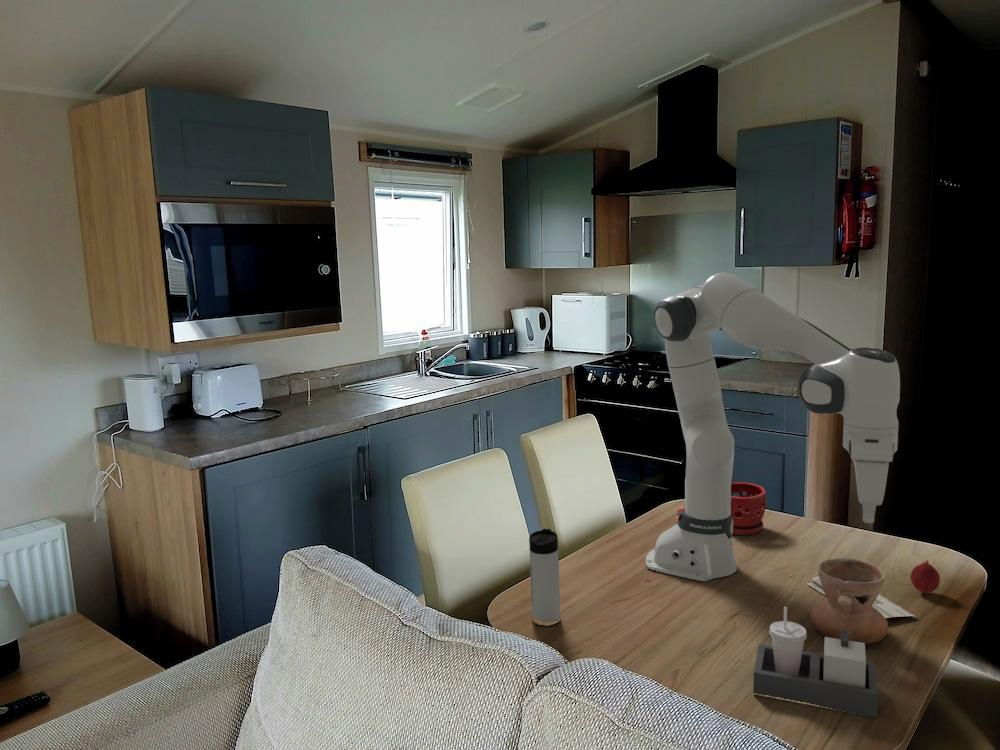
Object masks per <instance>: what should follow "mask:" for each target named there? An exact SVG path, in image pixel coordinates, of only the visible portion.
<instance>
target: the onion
mask: <svg viewBox="0 0 1000 750" xmlns="http://www.w3.org/2000/svg"><path fill="white" fill-rule="evenodd" d="M910 581H911V584H912V585H913V587H914V588H915V589H916V590H917V591H919V592H920V593H921V594H924V595H927V594H929V593H932V592H934V591H936V589H938V588H939V586H940V583H941V582H940V581H941V577H940V574H939V572H938V570H937V569H936V568H935V567H934V566H932V565H931V564H930V563H929V560H927V559H923V561H922V563H919V564H917V565H916V566H914V568H913V569H912V571H911V573H910Z"/></svg>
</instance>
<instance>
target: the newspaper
mask: <svg viewBox="0 0 1000 750" xmlns="http://www.w3.org/2000/svg"><path fill="white" fill-rule="evenodd" d="M810 580H811V582H807V583H806V584H807V585H808V586H810V587H811V588H813V589H814V590H817V591H818V592H819V593H821V594H823V595H824V596H826V595H825V593H824V591H823V588H822V585H821V581H820V577H819V576H815V577H813V578H811V579H810ZM872 607H874V608H875V609H876V610H878V611H879V612H880V613H881V614H882V615H883V616H884V617H885V619H889V618H897V617H898V618H899V617H901V618H902V617H910V616H911V617H910V618H912V619H916V620H917V619H918V616H916V615H914V613H911V612H910V611H908V610H907V609H905V608H903V607H902V606H901V605H898V604H897V603H896V602H893V601H892V600H890V599H889V598H887V597H885V596H883V595H882V594H881V593H879V594H878V596H877V598H876V600H875V602H874V603H873V605H872ZM886 621H887V624H888V623H889V621H888V620H886Z"/></svg>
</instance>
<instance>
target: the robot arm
mask: <svg viewBox="0 0 1000 750" xmlns="http://www.w3.org/2000/svg"><path fill="white" fill-rule="evenodd" d="M653 321H654V322H653V323H654V325H655V329H656V330H657V332H658V333H659V335H660V336H661V337H662V338H663V339H664V346H665V347H664V348H665V355H666V362H667V366H668V371H669V375H670V380H671V383H672V389H673V394H674V397H675V402H676V407H677V411H678V415H679V419H680V420H679V421H680V425H681V429H682V435H683V439H684V442H685V451H686V453H685V454H686V457H685V458H686V460H685V461H686V462H685V464H686V465H685V478H684V506H683V505H681V506H680V507H679V508H678V510H677V514H676V524H674V525H673V526H671V527H670V528H668V529H667V530H665V531H663V532H662V533H661V534H660V535H659V537H658V538H657V539H656V542H655V545H654V548H653V549H651V550H650V551H649V552H648V553H647V555H646V557H645V563H646V564H645V567H646V566H647V567H648V568H649V569H652V570H651V571H653V570H656V571H655V572H658V571H659V572H658V573H662V572H663V573H662V574H667V575H672V576H677V577H682V578H685V579H690V580H695V581H699V582H708V581H710V580H713V579H718V578H724V577H725V578H726V577H727V576H731V575H733V574H734V573H736V572H737V570H738V565H737V561H736V558H735V557H736V556H735V554H734V549H733V548H734V547H733V540H732V539H733V538H732V537H733V534H734V533H733V515H732V513H731V483H732V478H733V471H734V470H733V468H734V460H735V459H734V458H735V437H734V435H733V434H732V432H731V429H730V428H729V425H728V421H727V417H726V414H725V413H726V412H725V406H724V400H723V395H722V394H723V393H722V387H721V383H720V382H721V381H720V377H719V373H718V369H717V363H716V359H715V354H714V350H713V347H712V343H711V336H712V334H713V333H714V332H715V331H718V330H719V331H723V332H724V333H725V334H726V335H727V336H729V338H731V339H732V340H733V341H734V342H736V343H738V344H740V345H742V346H744V347H746V348H748V349H754V350H755V349H756V350H775V351H776V350H777V351H784V352H791V353H794V354H798V355H800V356H803V358H805V359H807V360H808V361H810V362H812V364H813V363H814V365H809V366H808V367H806V368H805V369H804V370H803V371H802V373H801V374H800V376H799V378H798V382H797V383H798V384H797V392H798V397H799V399H800V401H801V403H802V405H803V406H804V407H805V408H806V409H807V410H808V411H809V412H811V413H813V414H819V415H820V414H821V415H830V414H831V415H832V414H840V415H841V416H842V418H843V426H842V427H843V429H842V431H843V432H842V447H843V448H844V449H845V450H846V451H847V452H848V453H849V456H850V459H851V460H852V462H853V465H854V471H855V480H856V481H855V482H856V492H857V498H858V499H857V500H858V503H860V504H861V506H862V521H863V522H864V523H866V524H874V523H875V514H876V508H877V506H881V505H882V504H883V501H884V497H885V494H886V493H885V492H886V486H887V479H888V472H889V463H891V462H893V460H894V454H895V453H896V452H897V451H898V444H899V420H898V416H897V412H898V411H897V409H898V407H899V406H898V405H899V404H900V399H901V397H900V394H901V377H900V376H901V375H900V367H899V363H898V361H897V358H896V356H895V355H894V354H892V353H891V352H889V351H886V350H885V349H884V350H883V349H879V348H876V347H875V348H873V347H865V346H864V347H863V346H862V347H856V348H850V347H848V346H846V345H845V344H843V343H842V342H840V341H839V340H838V339H836V338H835V337H833V336H831V335H830V334H828V332H825V331H824V330H822V329H820V328H819V327H817V326H816V325H814V324H813V323H811V322H809V321H807V320H805V319H803V318H802V317H800V316H798V315H796V314H795V313H792V311H789V310H788V309H787V308H784V307H783V306H781V305H780V304H778V303H777V302H775V301H774V300H772V299H771V298H769V296H768V295H765V294H764V293H763V292H762V291H761V290H759V289H758V288H756V287H755V286H754V285H752V284H751V283H749V282H748V281H746V280H745V279H743V278H740V277H738V276H737V275H736V274H732V273H730V272H725V271H724V272H723V271H722V272H717V273H715V274H713V275H711V276H709V278H707V279H706V280H705V282H703V284H702V285H698V286H694V287H691V288H690V289H686V290H685V291H682V292H680V293H677V294H675V295H669V296H667V297H666V298H663V299H662V300H660V301H659V302H658V303H657V304H656V306H655V309H654V312H653ZM647 567H646V568H647ZM648 568H647V569H648ZM649 569H648V570H649Z"/></svg>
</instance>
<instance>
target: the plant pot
mask: <svg viewBox="0 0 1000 750" xmlns="http://www.w3.org/2000/svg"><path fill="white" fill-rule="evenodd" d="M744 492H745V493H746V495H744V494H743V493H744ZM735 493H736V494H738V495H739V496H734V495H733V494H735ZM766 493H767V492H766V489H765V487H763V486H761V485H758V484H755V483H751V482H731V513H732V515H733V534H735V535H743V536H744V535H754V534H757V533H759V532H760V531H762V529H763V528H764V522H763V521H762V520H763V518H764V515H765V512H766V505H767V494H766Z"/></svg>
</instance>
